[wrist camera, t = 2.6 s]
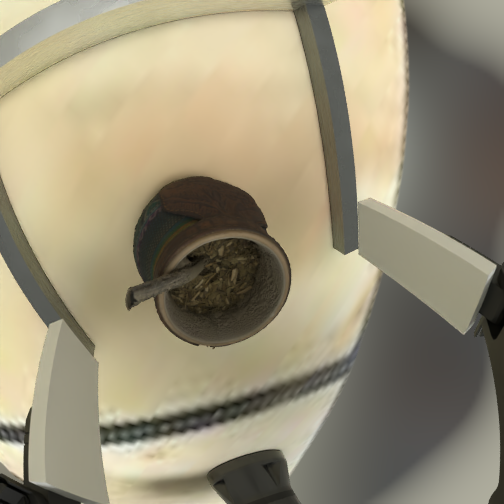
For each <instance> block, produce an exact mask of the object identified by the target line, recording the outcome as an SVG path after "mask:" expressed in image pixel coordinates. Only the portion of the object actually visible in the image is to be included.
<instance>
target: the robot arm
mask: <svg viewBox="0 0 504 504" xmlns="http://www.w3.org/2000/svg"><path fill="white" fill-rule="evenodd" d="M358 225H359V255H360V256H362V257H363V258H365V259H366V260H367V261H369V262H370V263H372V264H373V265H374V266H376V267H377V268H379V269H380V270H381V271H383V272H384V273H386V274H387V275H388V276H390V277H391V278H393V279H394V280H395V281H396V282H398V283H399V284H401V285H402V286H403V287H404V288H406V289H407V290H408V291H410V292H411V293H412V294H414V295H415V296H416V297H418V298H419V299H420V300H421V301H423V302H424V303H425V304H426V305H428V306H429V307H430V308H432V309H433V310H434V311H435V312H437V313H438V314H439V315H440V316H442V317H443V318H444V319H445V320H446V321H448V322H449V323H450V324H451V325H452V326H454V327H455V328H456V329H457V330H459V331H460V332H461V333H462V334H463V335H464V334H465V333H466V332H467V331H468V330H469V329H470V327H471V326H472V325H473V324H474V322H475V320H476V318H477V315H478V313H480V314H482V317H481V319H480V321H479V323H478V325H477V327H476V329H475V332H474V337H477V335H478V333H479V331H480V329H481V327H482V330H481V332H480V336H485V340H486V344H487V348H488V352H489V357H490V361H491V366H492V370H493V376H494V382H495V388H496V395H497V403H498V413H499V424H500V476H499V484H498V487H497V489H496V490H495V491H494V493H493V494H492V496H491V498H490V500H489V503H488V504H504V263H503V264H502V266H501V265H499V264H497V263H496V262H494V261H493V260H491V259H489V258H488V257H486V256H484V255H483V254H481V253H480V252H478V251H476V250H475V249H473V248H470V247H469V246H468V245H466V244H465V243H463V244H462V242H461V241H459V240H457V239H456V238H454V237H452V236H449V235H446V234H443V233H441V232H439V231H438V230H436V229H434V228H432V227H430V226H428V225H426V224H424V223H422V222H420V221H418V220H416V219H414V218H412V217H410V216H408V215H406V214H404V213H402V212H400V211H398V210H396V209H394V208H392V207H389V206H387V205H385V204H383V203H381V202H379V201H376V200H374V199H372V198H368V199H365V200H362V201H360V202H358ZM25 434H26V435H25V437H24V443H25V445H24V485H23V484H21V483H19V482H17V481H15V480H13V479H11V478H9V477H7V476H6V475H4V474H0V504H81V503H84V504H110V502H109V497H108V492H107V487H106V481H105V475H104V468H103V461H102V452H101V442H100V430H99V411H98V361H97V360H96V359H95V358H94V357H93V356H92V355H91V353H90V352H89V351H88V350H87V349H86V348H85V346H84V345H83V344H82V343H81V342H80V340H79V339H78V338H77V337H76V335H75V334H74V333H73V332H72V330H71V329H70V328H69V326H68V325H67V324H66V322H65V321H64V320H63V319H61V320H58V321H56V322H54V323H51V324H49V328H48V331H47V335H46V339H45V343H44V346H43V351H42V355H41V359H40V364H39V368H38V373H37V379H36V384H35V390H34V397H33V404H32V407H31V408H30V411H29V413H28V416H27V418H26V425H25ZM207 477H208V480H209V482H210V485H211V487H212V488H213V489H214V490H215V491H216V492H217V493H218V495H219V496H220V497H221V498H222V499H223V500H224V501H225V502H226V503H227V504H301V503H300V501H299V500H298V498H297V496H296V495H295V493H294V492H293V490H292V488H291V486H290V480H289V473H288V467H287V461H286V459H285V457H284V455H283V454H282V452H281V451H278V450H269V451H263V452H258V453H254V454H250V455H246V456H243V457H240V458H237V459H234V460H232V461H229V462H227V463H224V464H222V465H220V466H218V467H216V468H215V469H213V470H212V471H210V472H209V473H208V475H207Z"/></svg>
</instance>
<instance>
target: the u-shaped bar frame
mask: <svg viewBox="0 0 504 504" xmlns="http://www.w3.org/2000/svg"><path fill="white" fill-rule="evenodd" d="M334 1H337V0H61V1H59V2H57V3H55V4H53V5H51V6H49V7H47V8H45V9H43V10H41V11H39V12H37V13H36V14H34V15H32V16H30V17H29V18H27V19H25V20H24V21H22V22H21V23H19V24H17V25H16V26H14V27H13V28H11V29H10V30H8V31H7V32H5V33H4V34H3V35H1V36H0V98H1V97H2V96H4V95H5V94H6V93H8V92H9V91H11V90H12V89H14V88H15V87H17V86H18V85H20V84H21V83H23V82H24V81H26V80H27V79H29V78H31V77H32V76H34V75H36V74H37V73H39V72H41V71H42V70H44V69H46V68H48V67H50V66H51V65H53V64H55V63H57V62H59V61H61V60H63V59H65V58H67V57H69V56H71V55H73V54H75V53H78V52H80V51H82V50H84V49H87V48H89V47H91V46H94V45H96V44H99V43H101V42H104V41H106V40H109V39H112V38H115V37H117V36H120V35H123V34H126V33H129V32H133V31H136V30H139V29H143V28H146V27H150V26H154V25H158V24H162V23H166V22H170V21H175V20H180V19H185V18H191V17H196V16H203V15H210V14H218V13H227V12H239V11H257V10H291V11H294V13H295V17H296V20H297V24H298V27H299V31H300V35H301V39H302V42H303V46H304V50H305V55H306V59H307V63H308V67H309V72H310V77H311V81H312V86H313V91H314V96H315V101H316V107H317V112H318V118H319V124H320V130H321V136H322V142H323V149H324V156H325V164H326V171H327V179H328V188H329V197H330V207H331V218H332V231H333V245H334V248H335V249H337V250H338V251H340V252H341V253H342V254H344V255H346V254H348V253H350V252H352V251H354V250H356V249H358V210H357V192H356V177H355V166H354V155H353V146H352V138H351V130H350V123H349V116H348V109H347V103H346V97H345V91H344V86H343V81H342V76H341V71H340V66H339V61H338V57H337V52H336V48H335V44H334V40H333V36H332V32H331V29H330V25H329V21H328V18H327V14H326V11H325V8H324V6H325V5H327V4H330V3H332V2H334ZM0 253H1V255H2V257H3V258H4V260H5V262H6V264H7V266H8V268H9V269H10V271H11V273H12V275H13V276H14V278H15V280H16V281H17V283H18V285H19V286H20V288H21V290H22V291H23V293H24V294H25V296H26V297H27V299H28V300H29V302H30V303H31V305H32V306H33V308H34V309H35V311H36V312H37V313H38V315H39V316H40V318H41V319H42V320H43V322H44V323H45V324H46V326H47V327H48V328H49V324H51V323H54V322H56V321H58V320H61V319H63V320H64V321H65V322H66V324H67V325H68V326H69V328H70V329H71V330H72V332H73V333H74V334H75V335H76V337H77V338H78V339H79V340H80V342H81V343H82V344H83V345H84V346H85V348H86V349H87V350H88V351H89V352H90V353H91V355H92V356H93V357H94V345H93V343H92V342H91V341H90V340H89V338H88V337H87V336H86V334H85V333H84V332H83V330H82V329H81V328H80V326H79V325H78V324H77V322H76V321H75V320H74V318H73V317H72V315H71V314H70V313H69V311H68V310H67V308H66V307H65V305H64V304H63V302H62V301H61V299H60V298H59V296H58V295H57V293H56V291H55V290H54V288H53V287H52V285H51V283H50V282H49V280H48V278H47V277H46V275H45V273H44V272H43V270H42V268H41V266H40V265H39V263H38V261H37V259H36V257H35V255H34V254H33V252H32V250H31V248H30V246H29V244H28V242H27V240H26V238H25V236H24V234H23V232H22V229H21V227H20V225H19V223H18V221H17V218H16V216H15V214H14V211H13V209H12V206H11V204H10V201H9V199H8V196H7V194H6V191H5V188H4V185H3V183H2V180H1V177H0Z"/></svg>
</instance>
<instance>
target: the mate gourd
mask: <svg viewBox="0 0 504 504" xmlns="http://www.w3.org/2000/svg"><path fill="white" fill-rule="evenodd" d="M267 227H268V226H267V224H266V221H265V218H264V215H263V213H262V211H261V210H260V208H259V207H258V206H257V204H256V203H255V200H254V199H253V198H252V197H251V196H250V195H249V194H248V193H247V192H245V191H243V190H241V189H240V188H238V187H235V186H232V185H230V184H227V183H224V182H221V181H218V180H214V179H212V178H210V177H203V176H200V177H189V178H185V179H181V180H178V181H175V182H172V183H170V184H169V185H166V186H165V187H163V188H162V189H161V190H160V191H159V193H157V195H156V196H155V197H154V198H153V199H152V200H151V201H150V203H149V204H148V205H147V206H146V208H145V209H144V210H143V213H142V215H141V217H140V219H139V220H138V224H137V225H136V228H135V232H134V233H135V234H134V245H133V247H134V250H133V252H134V258H135V262H136V266H137V269H138V271H139V274H140V276H141V277H142V279H143V281H144V283H142V284H139V285H137V286H134V287H130V288H129V289H128V292H127V295H126V307H127V309H128V310H129V309H131V307H134V306H137V305H138V304H139V303H140V302H141V301H142V302H143V301H145V300H147V299H149V298H151V297H154V298H155V299H154V301H155V306H156V309H157V313H158V315H159V318H160V320H161V321H162V322H163V324H164V325H165V327H167V329H168V330H169V331H170V332H171V333H173V334H174V335H175V336H177V337H178V338H180V339H182V340H183V341H185V342H188V343H190V344H193V345H196V346H199V345H205V346H207V347H208V346H210V347H213V349H214V348H215V347H221V346H227V345H231V344H234V343H237V342H240V341H243V340H245V339H247V338H249V337H251V336H253V335H255V334H256V333H258V332H259V331H261V330H262V329H264V328H265V327H266V326H267V325H268V324H269V323H270V322H271V321H272V320H273V319H274V318H275V317H276V316H277V315H278V313H279V312H280V311H281V309H282V307H283V306H284V304H285V302H286V300H287V297H288V294H289V290H290V285H291V268H290V263H289V260H288V257H287V255H286V254H285V252H284V250H283V249H282V248H281V246H280V244H279V243H278V242H276V241H275V239H274V238H272V237H271V236H269V235H268V233H267V231H266V228H267ZM129 311H130V310H129Z"/></svg>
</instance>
